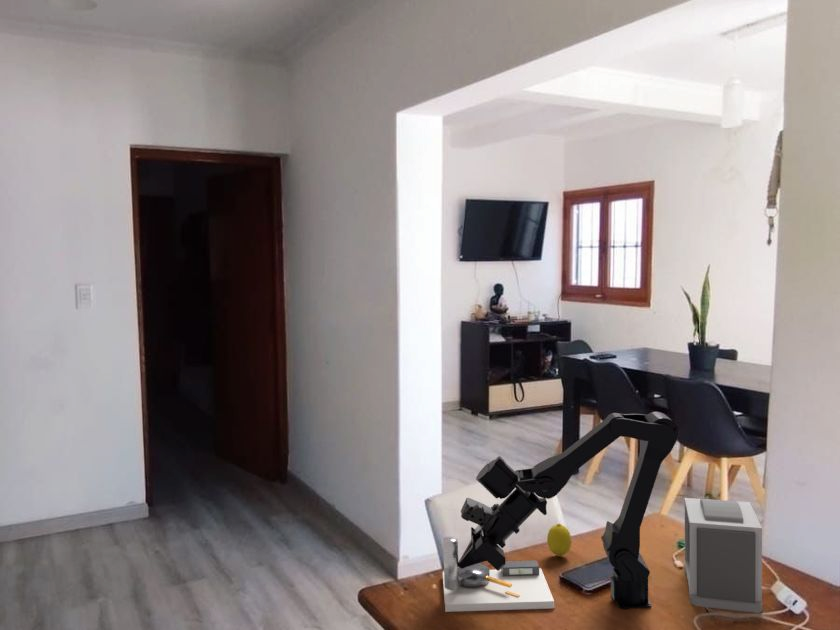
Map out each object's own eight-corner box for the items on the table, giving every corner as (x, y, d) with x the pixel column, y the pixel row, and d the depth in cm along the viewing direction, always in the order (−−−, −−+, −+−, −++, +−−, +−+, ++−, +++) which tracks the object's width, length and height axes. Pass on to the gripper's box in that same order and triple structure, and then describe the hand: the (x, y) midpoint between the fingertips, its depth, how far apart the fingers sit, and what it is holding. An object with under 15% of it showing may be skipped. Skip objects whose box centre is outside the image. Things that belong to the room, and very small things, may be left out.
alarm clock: (684, 566, 154) (683, 487, 152) (748, 572, 150) (748, 491, 148) (690, 605, 136) (690, 516, 135) (763, 613, 132) (763, 522, 131)
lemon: (565, 563, 157) (564, 530, 156) (543, 558, 160) (543, 525, 159) (575, 555, 161) (574, 522, 160) (554, 549, 164) (553, 517, 164)
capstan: (520, 584, 143) (519, 533, 142) (488, 609, 134) (486, 553, 133) (466, 567, 152) (465, 519, 151) (432, 589, 142) (430, 537, 142)
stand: (541, 574, 152) (540, 559, 151) (554, 608, 137) (554, 591, 136) (442, 577, 152) (442, 562, 151) (445, 611, 137) (444, 594, 136)
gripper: (480, 472, 148) (431, 522, 149) (487, 503, 130) (431, 560, 131) (516, 506, 149) (467, 556, 150) (529, 542, 130) (472, 598, 131)
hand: (459, 566), depth 140 cm, fingers closed, pressing on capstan
